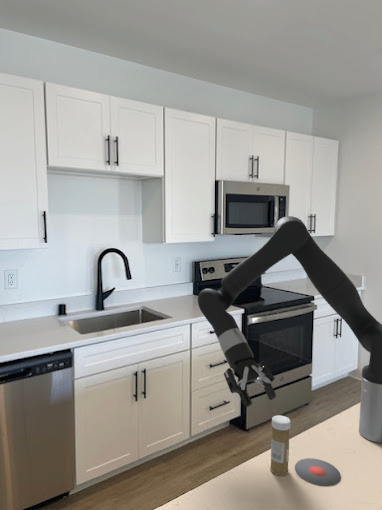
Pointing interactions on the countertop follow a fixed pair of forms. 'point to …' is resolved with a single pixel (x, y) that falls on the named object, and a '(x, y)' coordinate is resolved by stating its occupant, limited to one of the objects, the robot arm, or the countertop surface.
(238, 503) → the countertop surface
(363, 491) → the countertop surface
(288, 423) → the sprinkles bottle
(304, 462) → the coaster
